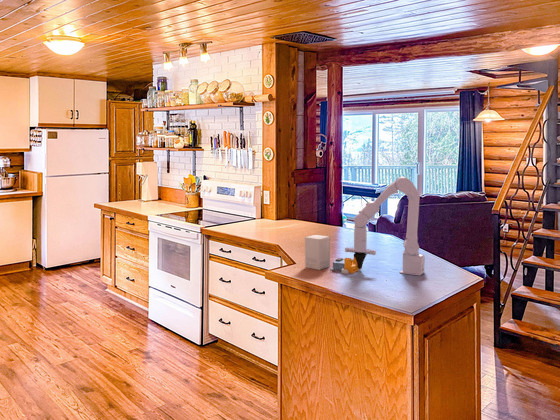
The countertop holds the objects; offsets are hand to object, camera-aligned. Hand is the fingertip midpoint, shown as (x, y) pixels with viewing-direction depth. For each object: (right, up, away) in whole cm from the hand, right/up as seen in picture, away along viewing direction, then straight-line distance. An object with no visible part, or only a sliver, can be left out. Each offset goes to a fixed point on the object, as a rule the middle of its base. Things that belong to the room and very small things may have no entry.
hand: (360, 268), depth 227 cm
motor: (-7, -1, +4) cm, 8 cm away
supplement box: (-19, -1, +8) cm, 21 cm away
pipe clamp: (-2, -1, +2) cm, 3 cm away
